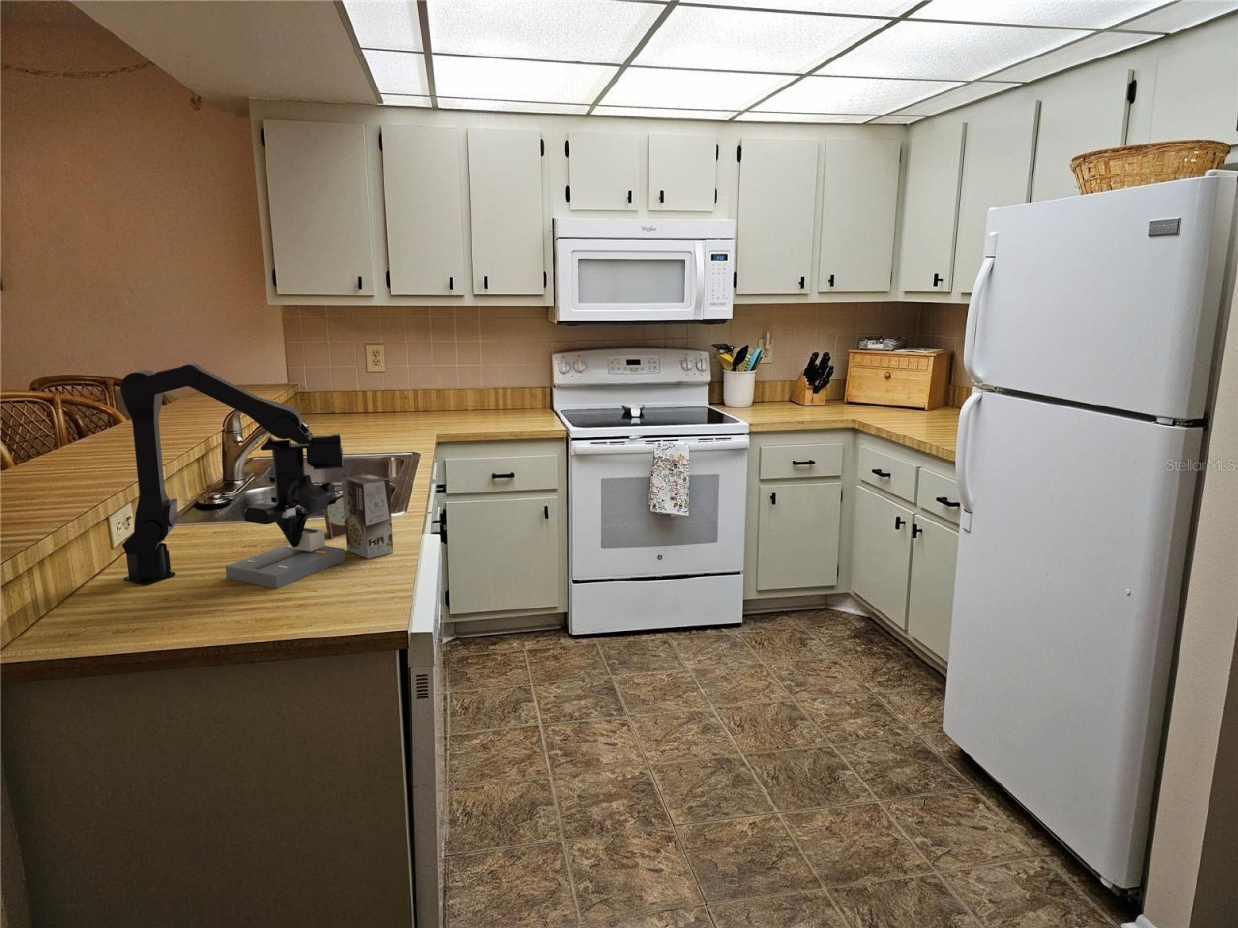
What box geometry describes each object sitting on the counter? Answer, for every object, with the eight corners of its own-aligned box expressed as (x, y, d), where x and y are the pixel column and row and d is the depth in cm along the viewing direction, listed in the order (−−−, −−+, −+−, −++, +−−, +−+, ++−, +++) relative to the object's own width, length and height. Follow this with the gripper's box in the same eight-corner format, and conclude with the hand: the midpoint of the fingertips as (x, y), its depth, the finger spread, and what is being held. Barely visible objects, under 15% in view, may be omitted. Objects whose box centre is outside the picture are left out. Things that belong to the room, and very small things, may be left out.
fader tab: (310, 551, 163) (309, 532, 163) (291, 548, 165) (290, 529, 165) (325, 546, 167) (323, 527, 166) (306, 543, 169) (305, 524, 168)
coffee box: (394, 552, 172) (391, 478, 169) (367, 559, 168) (363, 483, 165) (372, 543, 179) (368, 472, 175) (345, 550, 174) (340, 477, 171)
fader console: (277, 588, 151) (276, 574, 150) (226, 578, 156) (225, 565, 155) (345, 560, 167) (344, 547, 167) (297, 552, 172) (296, 540, 172)
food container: (355, 523, 194) (353, 483, 192) (371, 528, 191) (369, 486, 189) (310, 535, 184) (306, 492, 182) (326, 540, 181) (323, 496, 179)
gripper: (283, 484, 148) (289, 565, 151) (354, 465, 165) (358, 539, 168) (238, 478, 152) (246, 557, 156) (312, 461, 169) (317, 532, 172)
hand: (295, 546), depth 163 cm, fingers closed
